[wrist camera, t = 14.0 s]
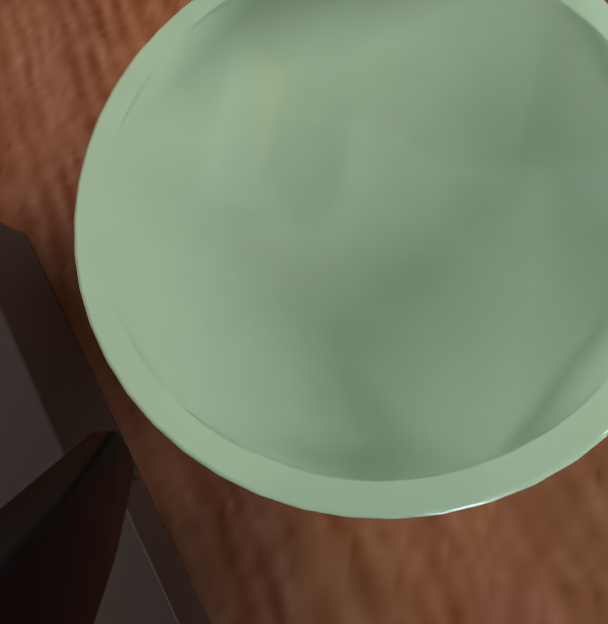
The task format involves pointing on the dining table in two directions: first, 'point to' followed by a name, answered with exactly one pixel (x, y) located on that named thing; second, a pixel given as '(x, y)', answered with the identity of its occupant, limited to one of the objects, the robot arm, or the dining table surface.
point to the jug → (359, 245)
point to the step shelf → (74, 439)
